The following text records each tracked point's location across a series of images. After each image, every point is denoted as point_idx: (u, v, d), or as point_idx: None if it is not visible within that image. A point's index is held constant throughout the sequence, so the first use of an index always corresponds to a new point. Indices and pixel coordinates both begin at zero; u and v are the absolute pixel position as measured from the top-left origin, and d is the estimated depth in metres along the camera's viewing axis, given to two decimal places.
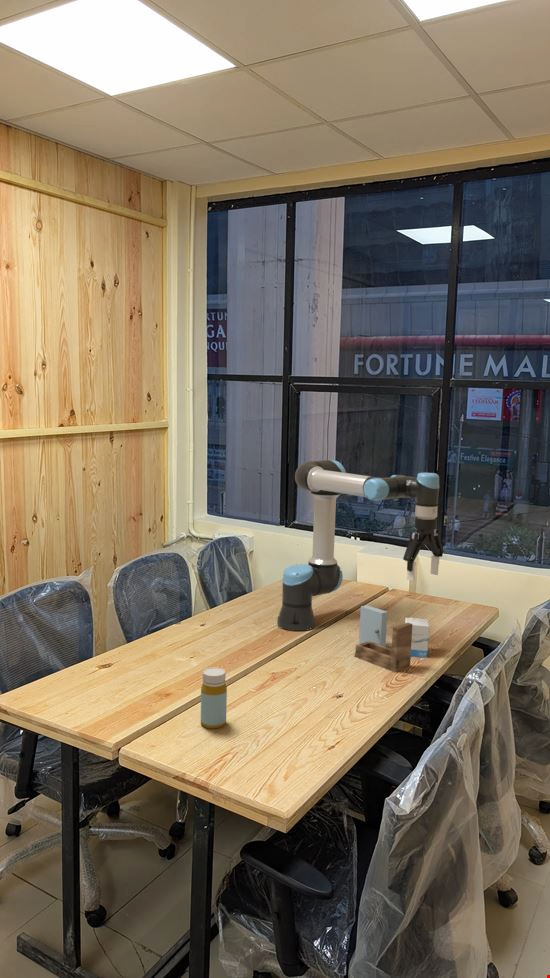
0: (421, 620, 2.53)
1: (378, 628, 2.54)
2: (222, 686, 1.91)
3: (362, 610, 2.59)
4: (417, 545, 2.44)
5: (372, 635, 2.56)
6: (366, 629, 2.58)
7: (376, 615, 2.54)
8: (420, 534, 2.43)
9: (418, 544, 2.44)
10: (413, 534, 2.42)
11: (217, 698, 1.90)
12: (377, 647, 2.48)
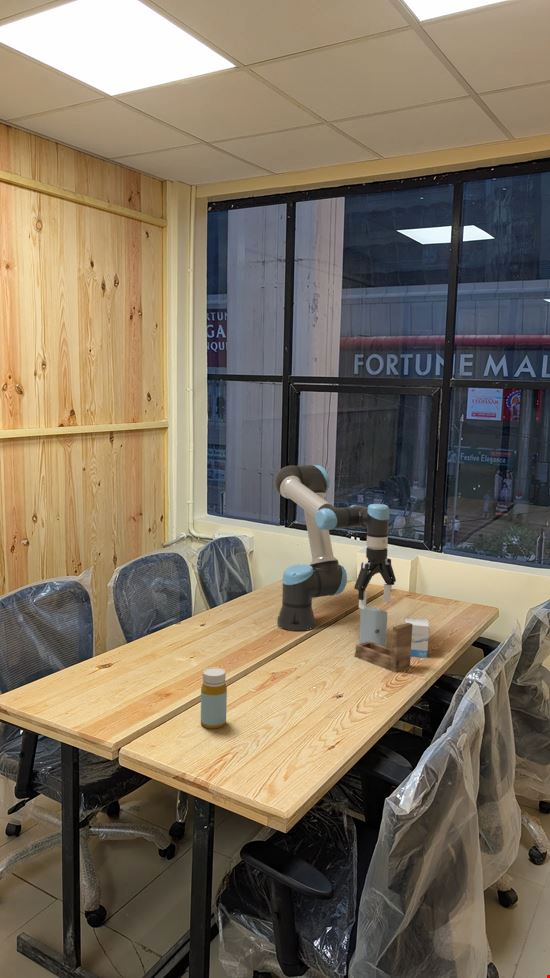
0: (421, 620, 2.53)
1: (378, 628, 2.54)
2: (222, 686, 1.91)
3: (362, 610, 2.59)
4: (368, 574, 2.52)
5: (372, 635, 2.56)
6: (366, 629, 2.58)
7: (376, 615, 2.54)
8: (371, 564, 2.51)
9: (369, 573, 2.52)
10: (364, 564, 2.50)
11: (217, 698, 1.90)
12: (377, 647, 2.48)
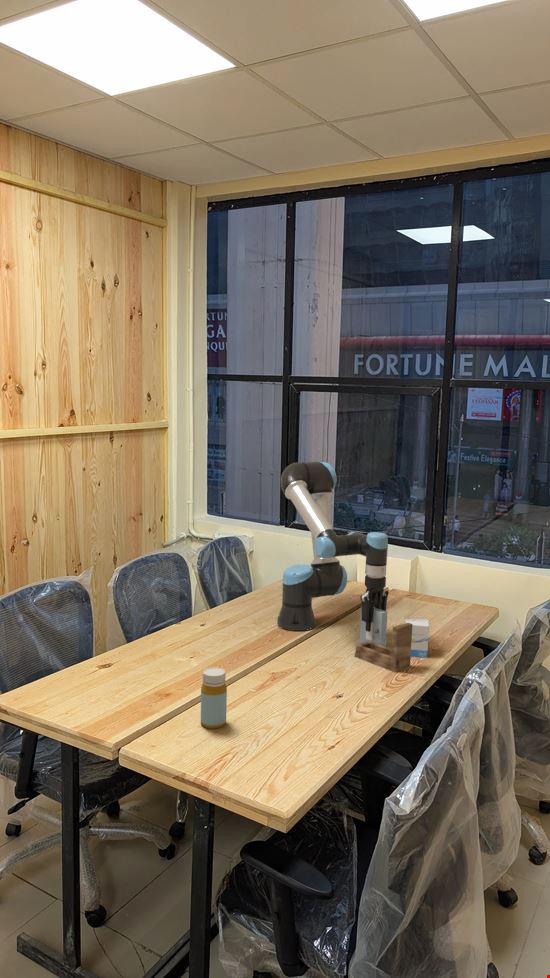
0: (421, 620, 2.53)
1: (378, 628, 2.54)
2: (222, 686, 1.91)
3: None
4: (370, 605, 2.55)
5: None
6: None
7: (376, 615, 2.54)
8: (369, 593, 2.53)
9: (370, 604, 2.54)
10: (362, 598, 2.52)
11: (217, 698, 1.90)
12: (377, 647, 2.48)
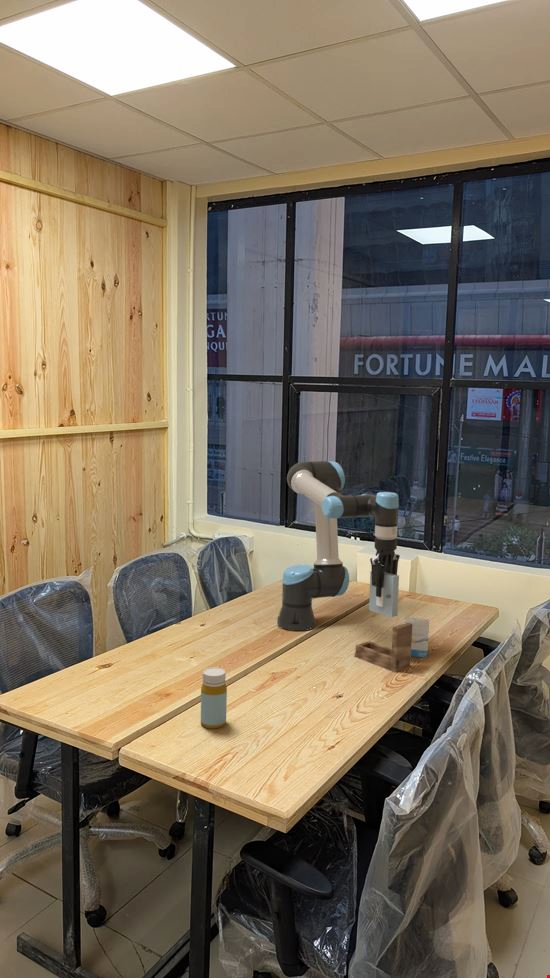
0: (421, 620, 2.53)
1: (389, 593, 2.40)
2: (222, 686, 1.91)
3: None
4: (380, 569, 2.41)
5: None
6: None
7: (387, 579, 2.40)
8: (379, 556, 2.39)
9: (381, 568, 2.41)
10: (373, 561, 2.38)
11: (217, 698, 1.90)
12: (377, 647, 2.48)
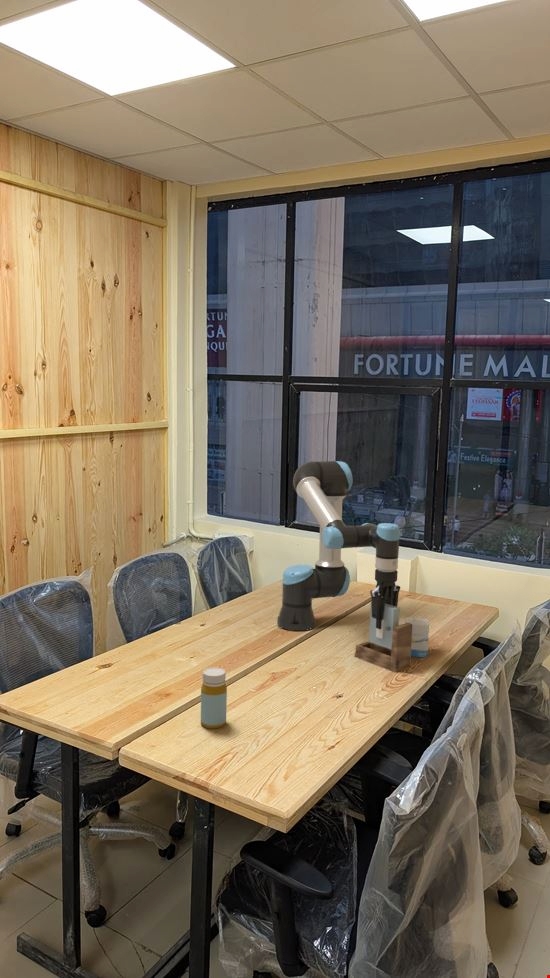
0: (421, 620, 2.53)
1: (389, 625, 2.38)
2: (222, 686, 1.91)
3: None
4: (381, 601, 2.39)
5: None
6: None
7: (387, 611, 2.39)
8: (380, 588, 2.37)
9: (381, 599, 2.39)
10: (373, 593, 2.36)
11: (217, 698, 1.90)
12: (377, 647, 2.48)
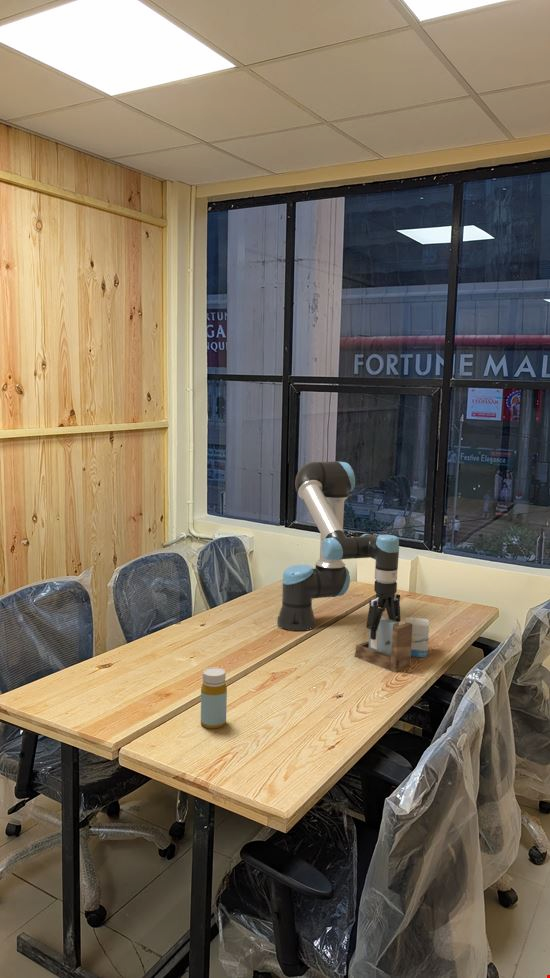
0: (421, 620, 2.53)
1: (389, 640, 2.39)
2: (222, 686, 1.91)
3: None
4: (378, 611, 2.39)
5: (382, 647, 2.41)
6: None
7: (386, 625, 2.39)
8: (379, 599, 2.38)
9: (379, 610, 2.39)
10: (372, 602, 2.36)
11: (217, 698, 1.90)
12: None
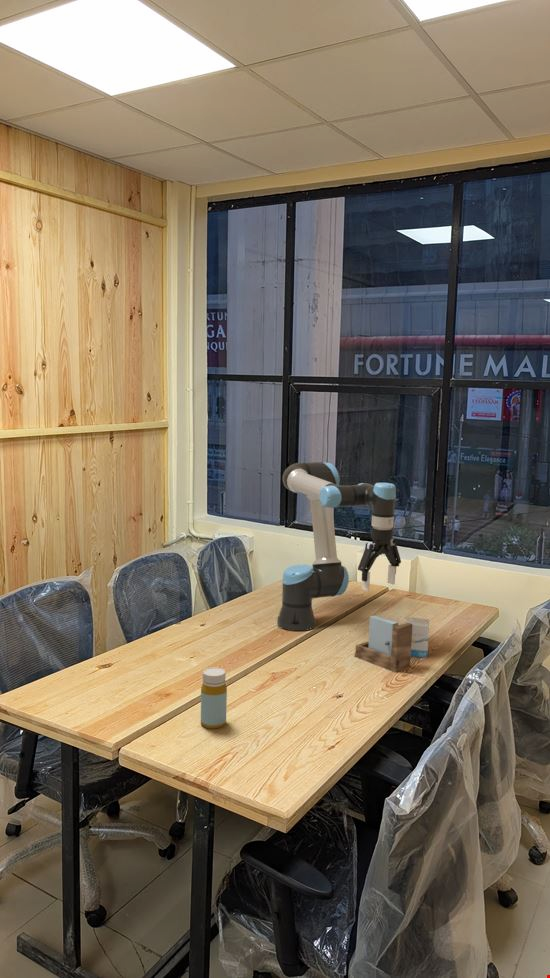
0: (421, 620, 2.53)
1: (388, 640, 2.39)
2: (222, 686, 1.91)
3: (371, 620, 2.44)
4: (372, 555, 2.44)
5: (382, 647, 2.41)
6: (375, 640, 2.43)
7: (386, 625, 2.39)
8: (375, 544, 2.43)
9: (373, 554, 2.44)
10: (368, 545, 2.42)
11: (217, 698, 1.90)
12: None
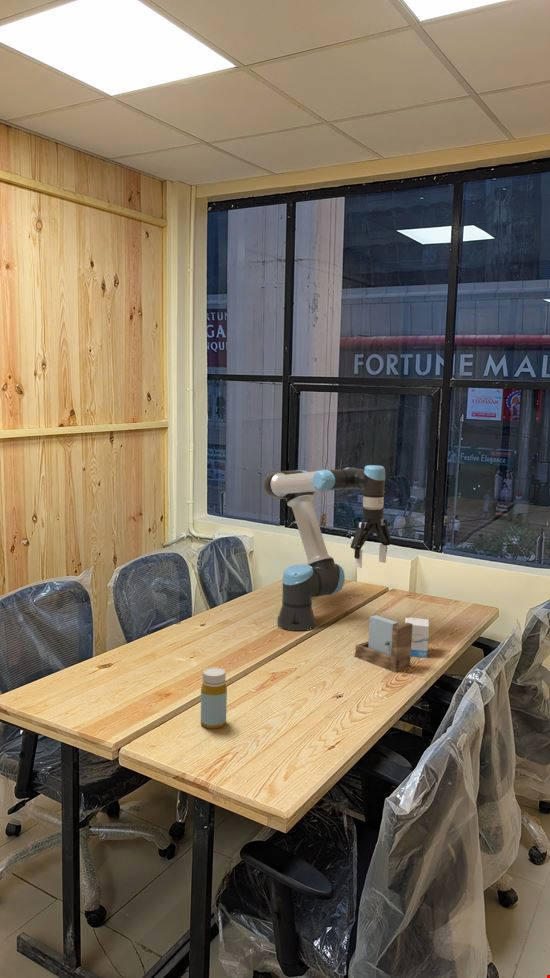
0: (421, 620, 2.53)
1: (388, 640, 2.39)
2: (222, 686, 1.91)
3: (371, 620, 2.44)
4: (364, 534, 2.57)
5: (382, 647, 2.41)
6: (375, 640, 2.43)
7: (386, 625, 2.39)
8: (367, 523, 2.57)
9: (365, 533, 2.57)
10: (360, 524, 2.55)
11: (217, 698, 1.90)
12: None
